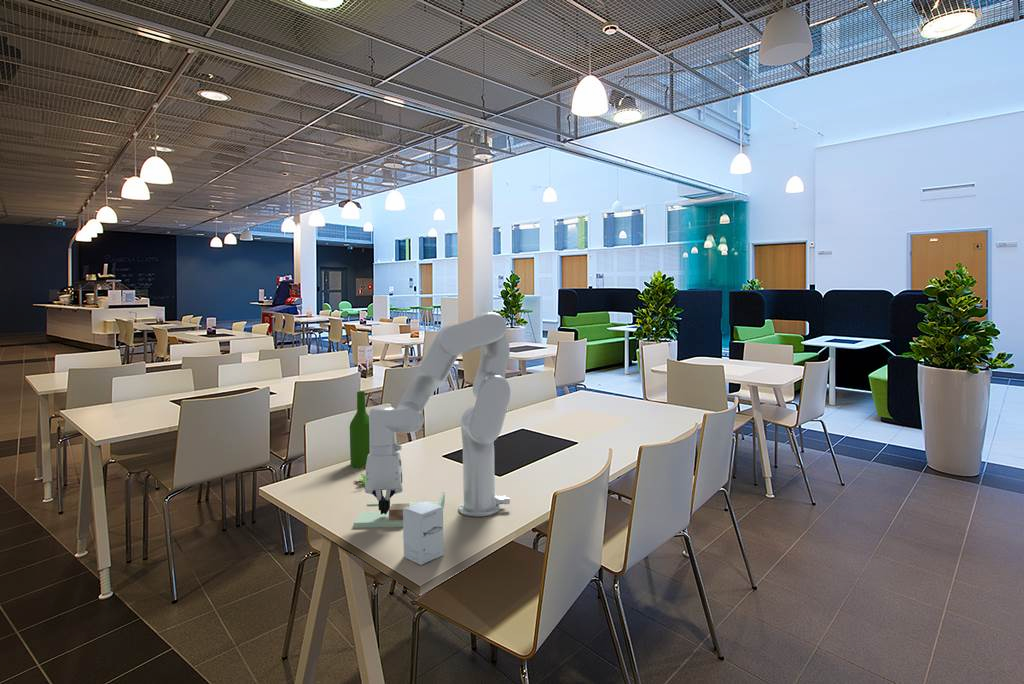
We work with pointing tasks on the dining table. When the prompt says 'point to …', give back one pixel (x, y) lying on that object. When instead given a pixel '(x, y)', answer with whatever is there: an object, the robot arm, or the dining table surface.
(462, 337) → the robot arm
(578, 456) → the dining table surface
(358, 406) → the wine bottle
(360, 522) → the board
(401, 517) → the walnut block
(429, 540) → the supplement box
